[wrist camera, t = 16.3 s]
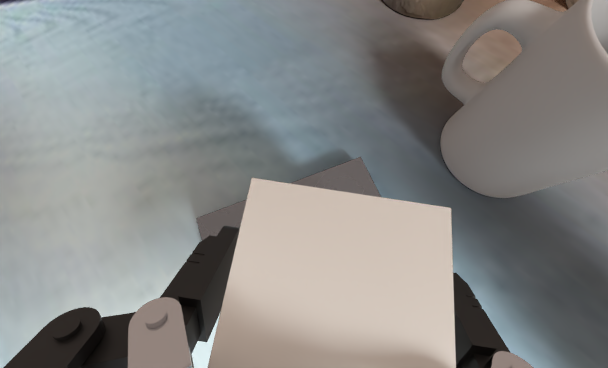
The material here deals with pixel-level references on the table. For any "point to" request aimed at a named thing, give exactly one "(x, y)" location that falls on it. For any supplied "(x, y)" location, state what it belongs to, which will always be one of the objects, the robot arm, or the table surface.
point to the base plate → (336, 178)
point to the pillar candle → (424, 7)
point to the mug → (531, 101)
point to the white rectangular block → (337, 283)
